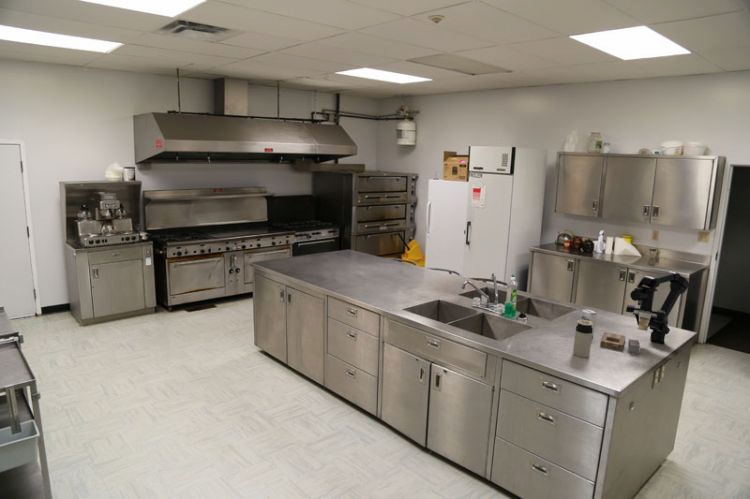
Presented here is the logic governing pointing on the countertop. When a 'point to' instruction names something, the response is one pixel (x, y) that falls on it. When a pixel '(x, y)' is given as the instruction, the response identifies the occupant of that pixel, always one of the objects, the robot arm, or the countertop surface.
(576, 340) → the travel mug
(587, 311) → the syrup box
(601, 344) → the socket block
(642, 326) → the square bit
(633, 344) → the grey rectangular block
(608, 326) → the countertop surface
